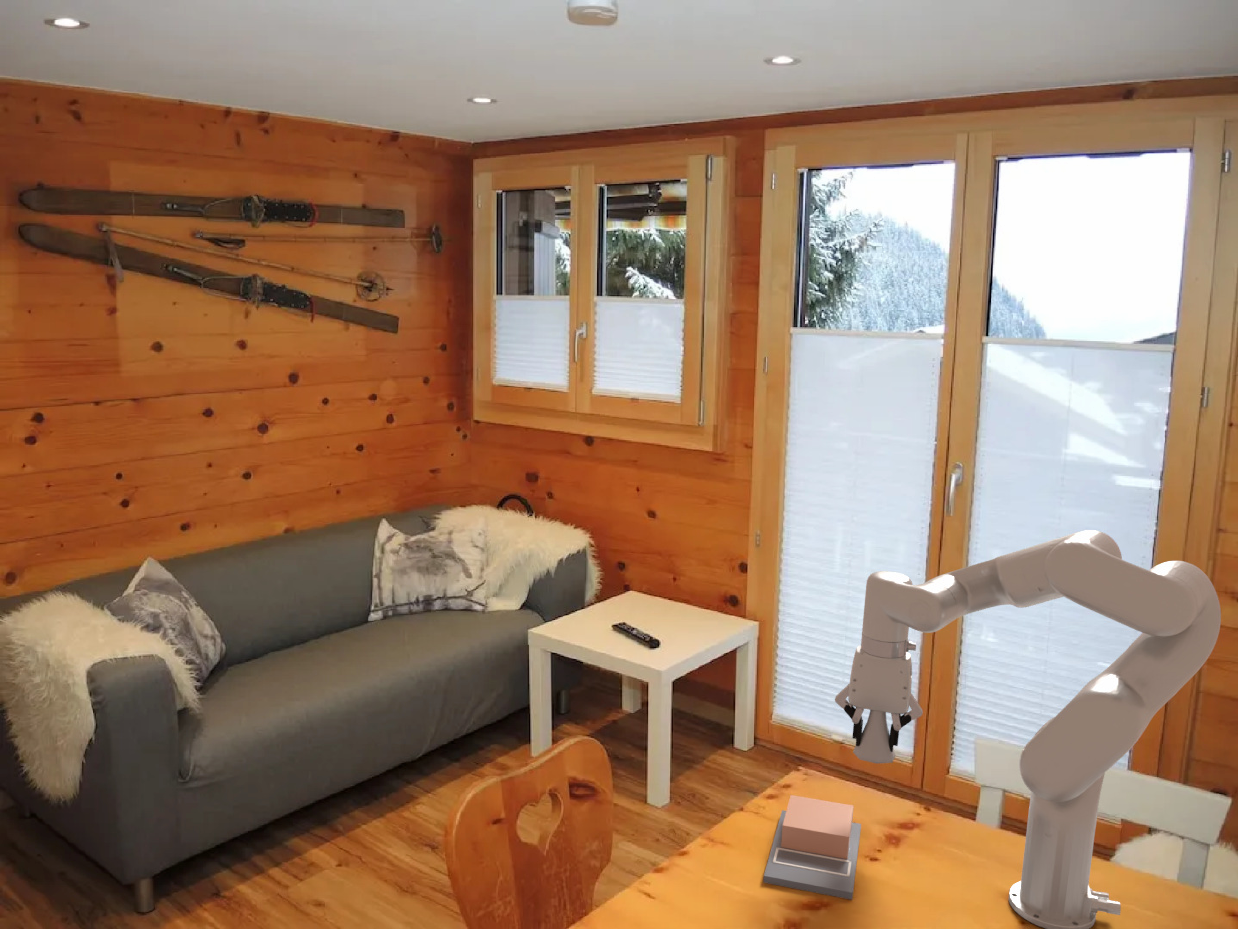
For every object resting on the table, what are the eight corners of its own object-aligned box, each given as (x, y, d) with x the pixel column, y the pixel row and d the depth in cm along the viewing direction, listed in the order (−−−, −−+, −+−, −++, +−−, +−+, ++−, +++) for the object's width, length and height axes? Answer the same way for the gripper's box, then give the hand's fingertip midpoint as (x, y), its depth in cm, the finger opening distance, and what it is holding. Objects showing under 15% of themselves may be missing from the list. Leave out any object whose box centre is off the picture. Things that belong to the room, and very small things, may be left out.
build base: (860, 830, 180) (862, 803, 180) (852, 899, 160) (854, 869, 159) (781, 816, 184) (783, 789, 183) (763, 882, 164) (765, 853, 163)
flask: (850, 744, 179) (855, 690, 177) (892, 748, 178) (897, 694, 176) (854, 763, 172) (859, 707, 170) (898, 767, 171) (903, 711, 169)
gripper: (936, 645, 172) (926, 745, 176) (835, 631, 177) (827, 728, 181) (936, 660, 165) (925, 764, 169) (830, 645, 170) (822, 746, 174)
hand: (874, 744), depth 175 cm, fingers closed on flask, 4 cm apart
